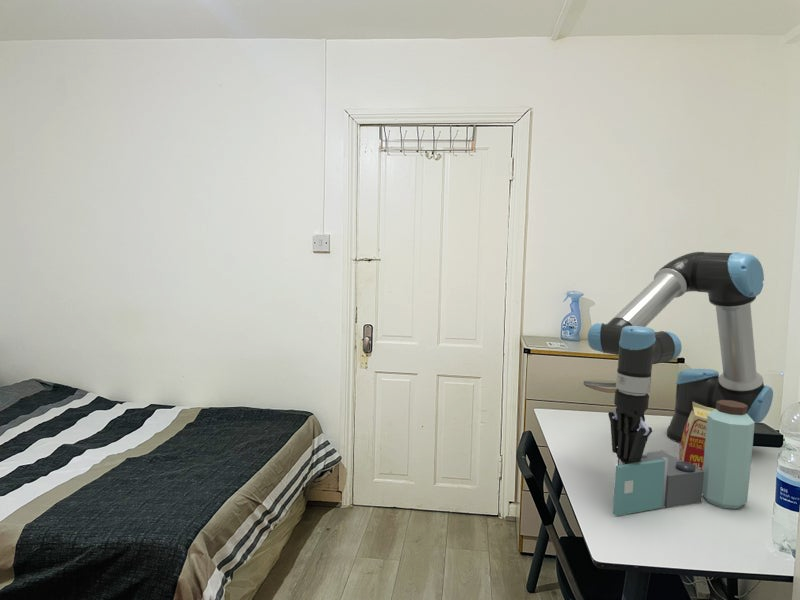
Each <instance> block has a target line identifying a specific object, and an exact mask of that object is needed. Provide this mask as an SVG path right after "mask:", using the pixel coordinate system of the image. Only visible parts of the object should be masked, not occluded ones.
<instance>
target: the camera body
mask: <svg viewBox="0 0 800 600" xmlns="http://www.w3.org/2000/svg"><path fill="white" fill-rule="evenodd" d="M662 457H666V458H668V466H667V478H666V491H665V504H664V508H674V507H680V506H686V505H687V506H688V505H693V504H694V503H695V504H701V503H702V499H703V494H702V490H703V479H704V471H702V470H700V469H698V468H696V466H695V465H694V464H691V463H688V462H684V461H682V460H680V459H679V458H678V457H676V456H674V455H672V454H670V453H668V452H666V451H663V450H656V451H655V450H654V451H648V452H645V451H643V455H642V458H641V461H640V462H645V461H652V460H659V459H662ZM634 463H638V462H634Z"/></svg>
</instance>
